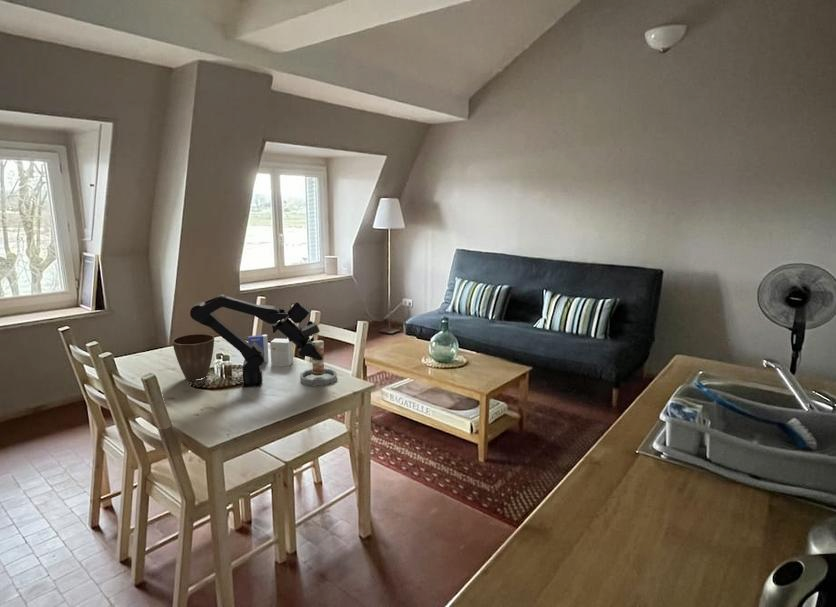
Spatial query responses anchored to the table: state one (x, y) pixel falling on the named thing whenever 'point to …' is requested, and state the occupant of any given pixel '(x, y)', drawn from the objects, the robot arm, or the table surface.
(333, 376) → the round tray
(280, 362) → the small box
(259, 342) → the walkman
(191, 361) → the plant pot
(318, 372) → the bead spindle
